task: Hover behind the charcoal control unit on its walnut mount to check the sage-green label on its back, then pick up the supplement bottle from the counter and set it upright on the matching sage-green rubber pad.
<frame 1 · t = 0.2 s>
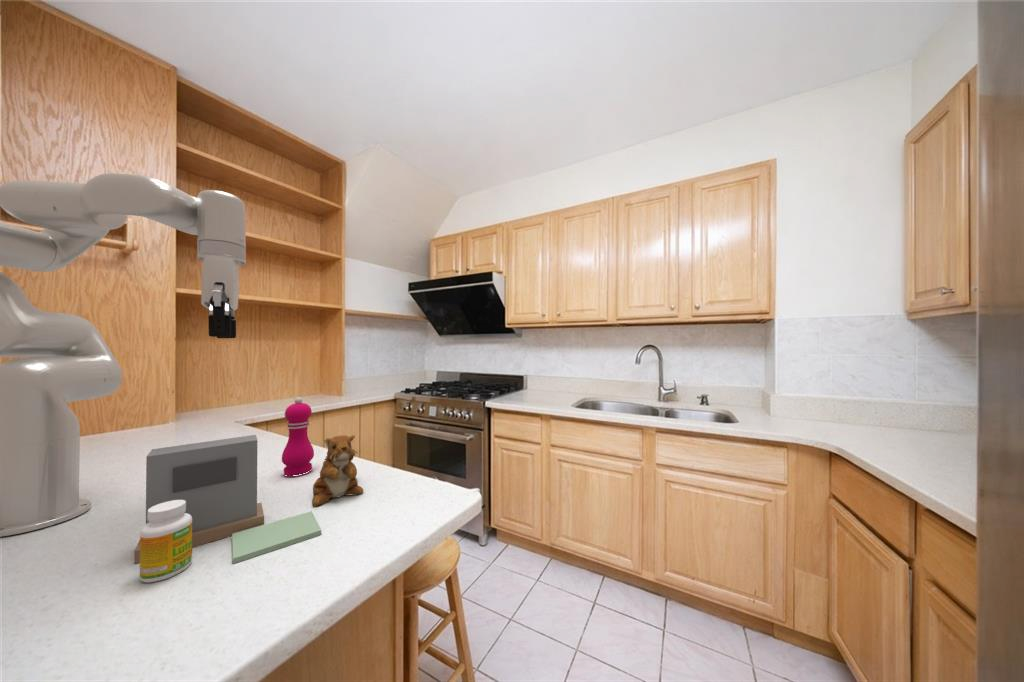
hand: (223, 337, 68), 35 cm above the countertop, tool pointing down, fingers open, 9 cm apart
stuffed squirrel: (336, 492, 76), on the countertop
control unit: (206, 534, 59), on the countertop
pepper mill: (298, 473, 88), on the countertop
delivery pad: (277, 536, 58), on the countertop
supplement bottle: (166, 572, 49), on the countertop
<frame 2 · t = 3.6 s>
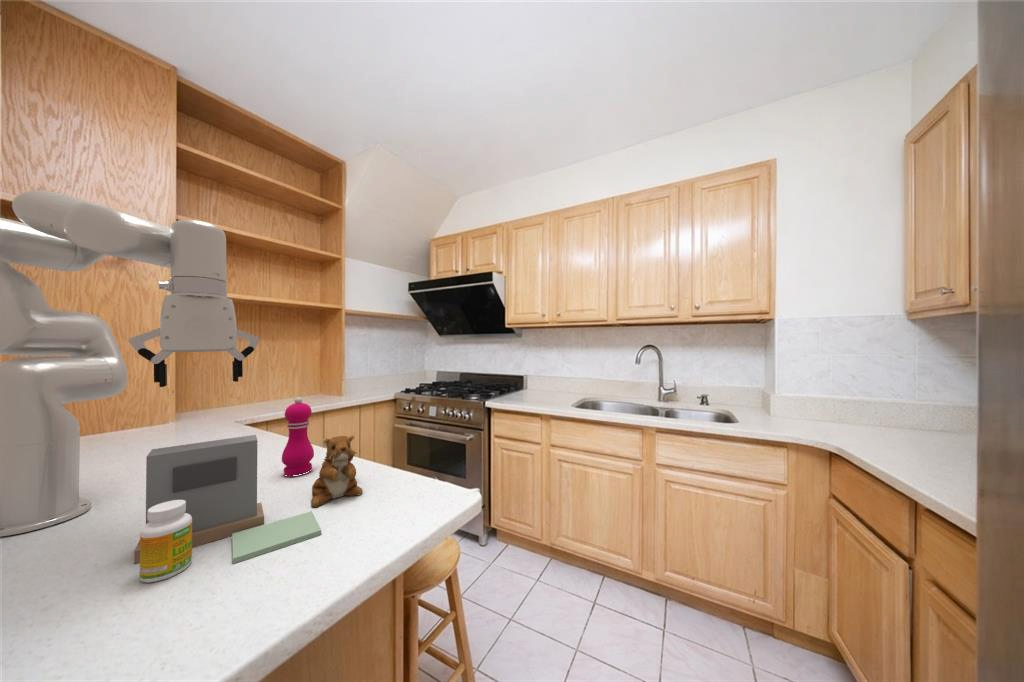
hand: (201, 383, 60), 27 cm above the countertop, tool pointing down, fingers open, 9 cm apart
nothing on the countertop moved.
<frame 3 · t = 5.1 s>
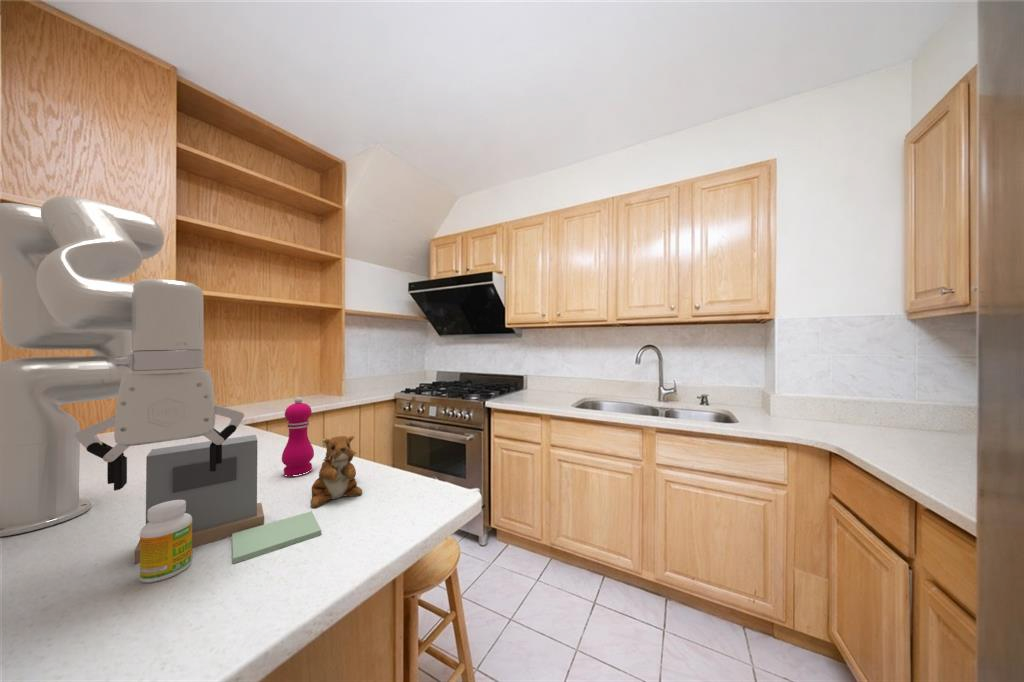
hand: (169, 477, 49), 14 cm above the countertop, tool pointing down, fingers open, 9 cm apart
nothing on the countertop moved.
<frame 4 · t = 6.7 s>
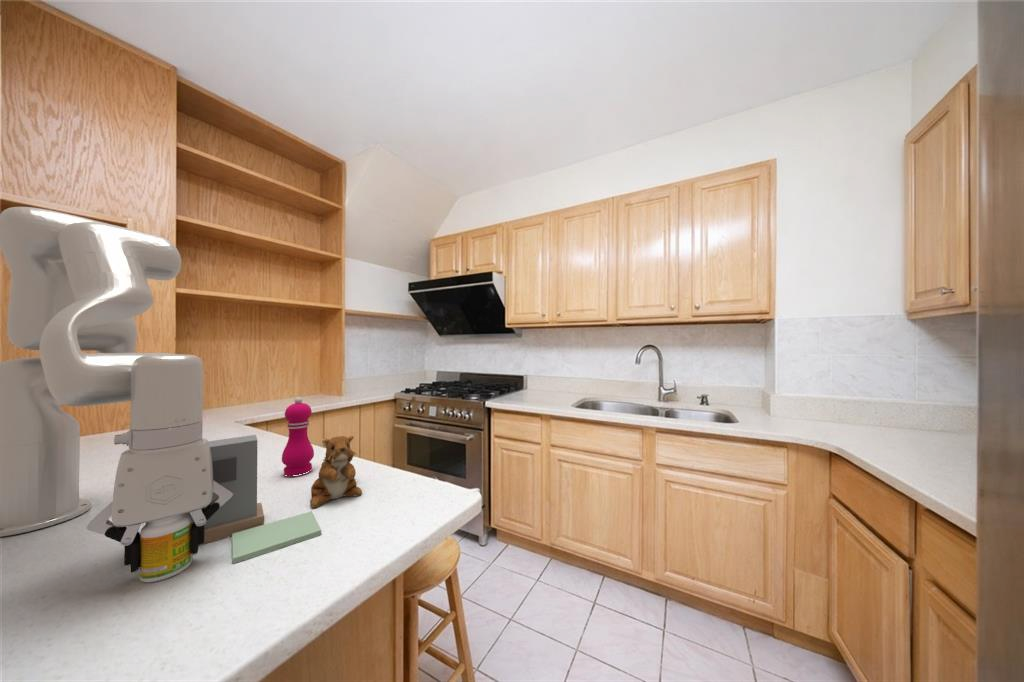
hand: (166, 557, 49), 2 cm above the countertop, tool pointing down, fingers closed on supplement bottle, 5 cm apart
supplement bottle: (166, 572, 49), on the countertop, touching gripper
everything else where it was.
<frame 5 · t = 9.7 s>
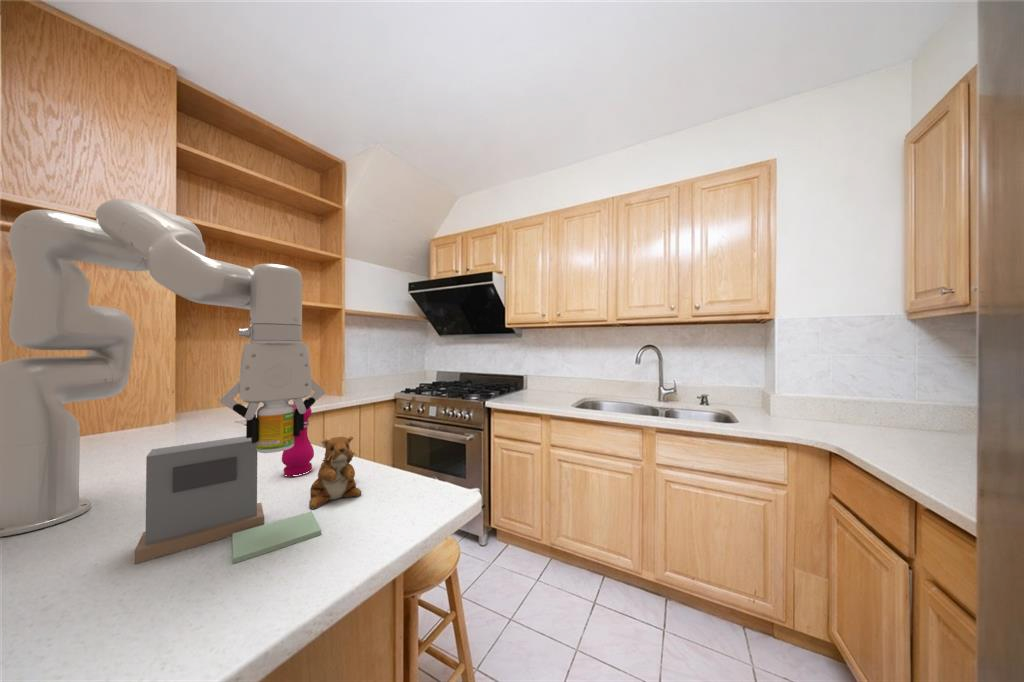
hand: (276, 437, 58), 17 cm above the countertop, tool pointing down, fingers closed on supplement bottle, 5 cm apart
supplement bottle: (275, 450, 58), point 15 cm above the countertop, touching gripper
everything else where it was.
when the fingers open (4 cm above the countertop, at t = 12.6 s): supplement bottle drops 1 cm, resting on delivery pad.
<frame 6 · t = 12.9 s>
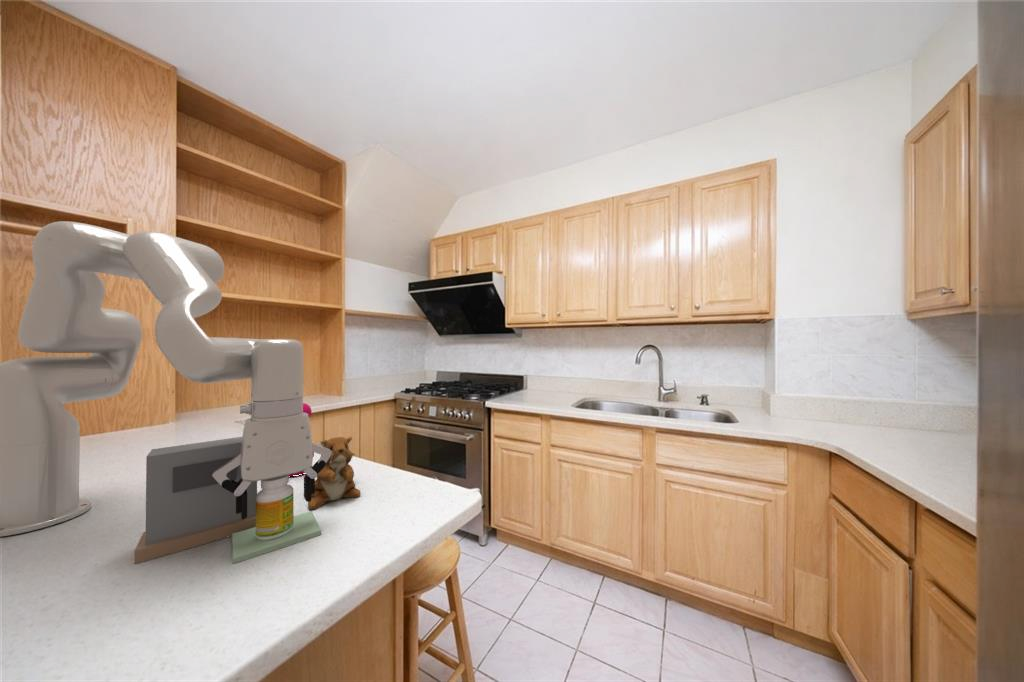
hand: (277, 506, 58), 5 cm above the countertop, tool pointing down, fingers open, 8 cm apart
supplement bottle: (275, 533, 58), point 1 cm above the countertop, touching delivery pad
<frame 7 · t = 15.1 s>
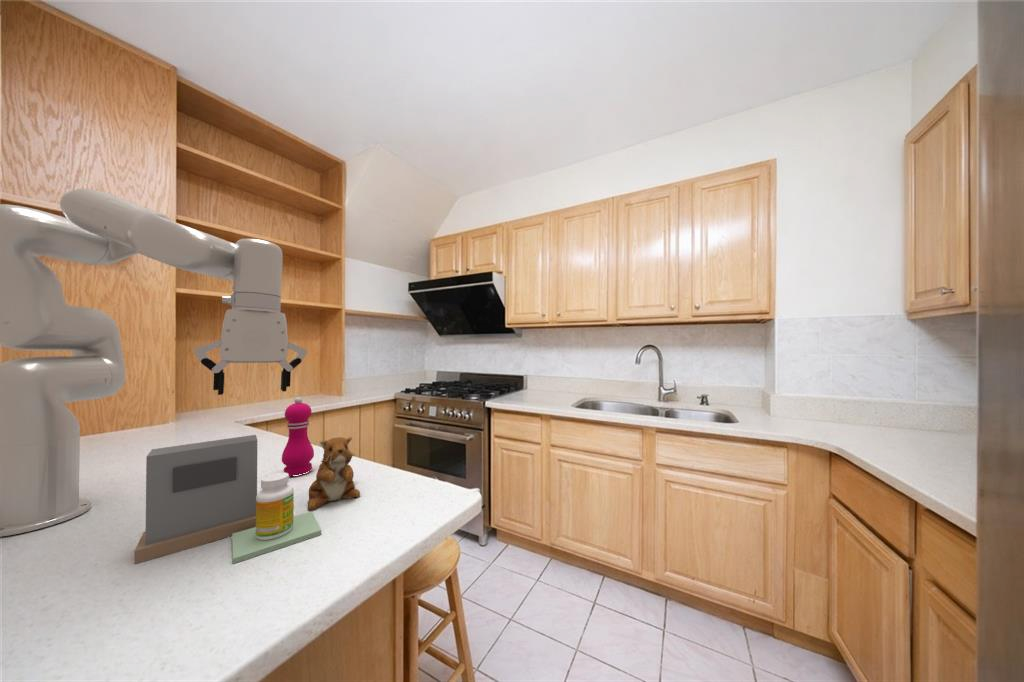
hand: (253, 392, 64), 25 cm above the countertop, tool pointing down, fingers open, 9 cm apart
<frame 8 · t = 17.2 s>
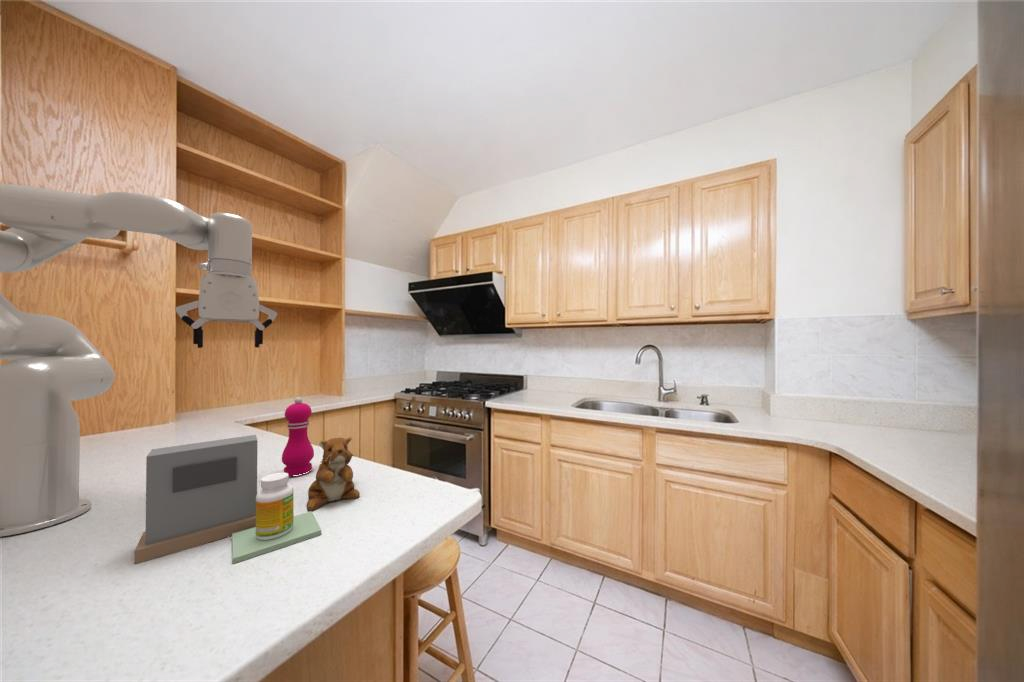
hand: (229, 347, 74), 33 cm above the countertop, tool pointing down, fingers open, 9 cm apart
at the end: supplement bottle inside the target area on the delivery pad (0.3 cm from its centre), point 0.6 cm above the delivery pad's base; supplement bottle tilted 0°; the gripper is holding nothing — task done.
